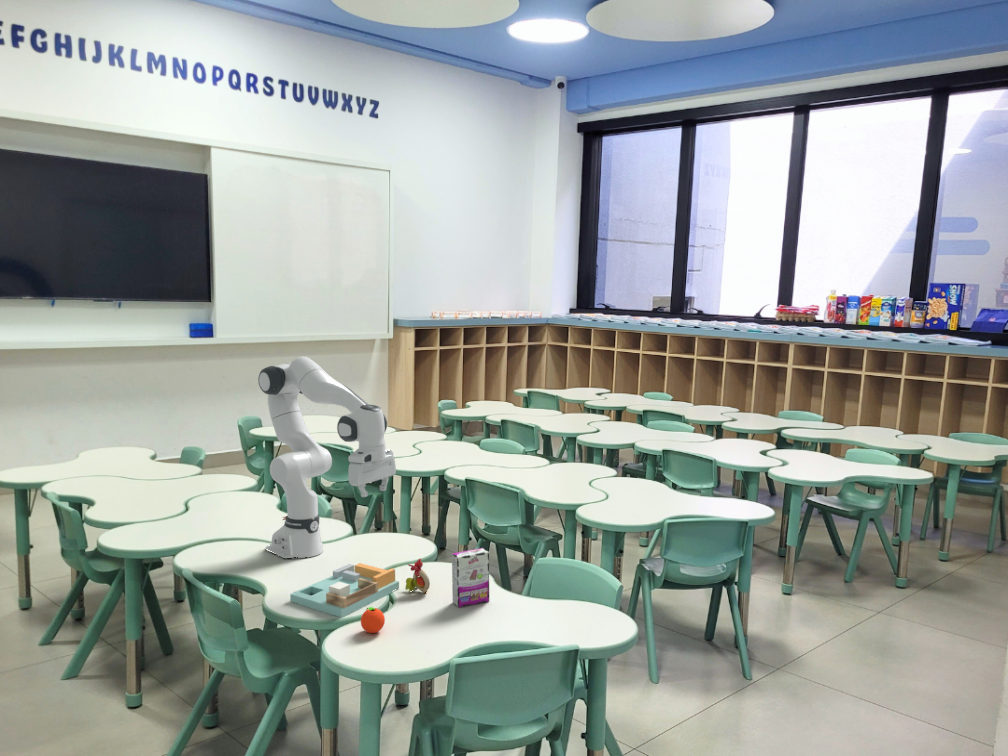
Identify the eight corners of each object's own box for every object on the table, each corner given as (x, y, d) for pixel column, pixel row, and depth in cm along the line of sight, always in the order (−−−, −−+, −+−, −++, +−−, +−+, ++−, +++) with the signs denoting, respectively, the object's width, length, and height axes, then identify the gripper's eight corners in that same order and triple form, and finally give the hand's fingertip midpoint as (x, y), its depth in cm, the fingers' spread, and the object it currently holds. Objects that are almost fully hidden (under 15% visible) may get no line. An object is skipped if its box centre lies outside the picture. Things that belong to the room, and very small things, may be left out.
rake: (340, 580, 256) (340, 568, 256) (360, 571, 264) (359, 560, 263) (376, 590, 248) (376, 578, 247) (395, 580, 256) (395, 569, 255)
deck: (290, 601, 244) (290, 594, 244) (349, 575, 267) (349, 568, 267) (341, 617, 233) (341, 609, 232) (399, 588, 255) (399, 581, 255)
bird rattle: (431, 596, 255) (413, 579, 259) (441, 569, 251) (422, 553, 256) (418, 602, 250) (399, 585, 254) (428, 575, 246) (409, 558, 251)
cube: (329, 600, 239) (328, 586, 239) (339, 595, 243) (339, 581, 243) (339, 603, 237) (339, 589, 237) (350, 598, 241) (349, 584, 240)
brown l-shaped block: (326, 602, 237) (326, 593, 237) (360, 586, 250) (360, 577, 250) (344, 608, 233) (344, 598, 233) (378, 591, 246) (378, 582, 246)
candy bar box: (482, 596, 250) (483, 547, 248) (489, 601, 245) (490, 552, 244) (451, 602, 245) (451, 552, 243) (457, 608, 240) (457, 557, 238)
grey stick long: (342, 578, 257) (342, 572, 257) (347, 576, 259) (346, 570, 259) (355, 582, 254) (355, 575, 254) (360, 580, 256) (360, 573, 256)
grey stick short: (332, 577, 258) (332, 571, 258) (349, 570, 265) (349, 564, 265) (337, 578, 257) (337, 572, 257) (354, 571, 264) (354, 565, 264)
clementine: (355, 629, 225) (354, 605, 224) (376, 623, 229) (376, 600, 228) (367, 639, 218) (366, 615, 218) (389, 633, 222) (388, 609, 222)
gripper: (385, 447, 269) (386, 486, 271) (344, 457, 252) (346, 499, 253) (399, 448, 266) (400, 488, 267) (358, 459, 249) (360, 501, 250)
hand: (373, 493), depth 260 cm, fingers open, 8 cm apart
